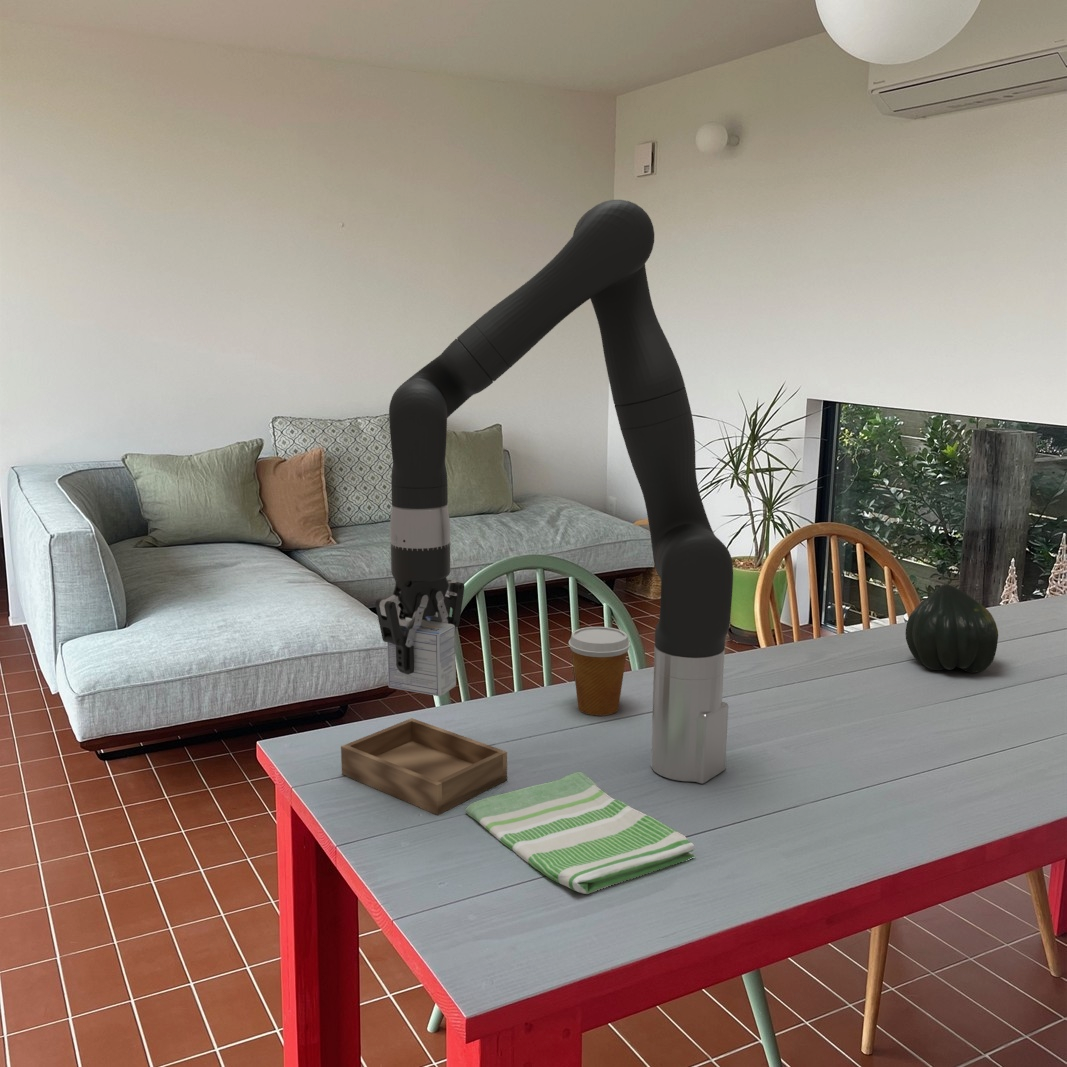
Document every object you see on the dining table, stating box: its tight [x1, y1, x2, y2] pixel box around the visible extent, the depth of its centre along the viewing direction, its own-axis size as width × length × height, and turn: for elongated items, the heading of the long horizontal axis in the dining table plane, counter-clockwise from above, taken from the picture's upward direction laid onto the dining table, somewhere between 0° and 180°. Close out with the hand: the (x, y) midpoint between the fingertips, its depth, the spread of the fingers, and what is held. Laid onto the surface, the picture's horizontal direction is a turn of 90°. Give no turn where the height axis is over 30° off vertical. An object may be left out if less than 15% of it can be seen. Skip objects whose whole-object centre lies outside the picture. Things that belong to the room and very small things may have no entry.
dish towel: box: [464, 771, 696, 895], centre depth 125 cm, size 18×23×3 cm
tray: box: [340, 717, 508, 816], centre depth 140 cm, size 18×13×4 cm
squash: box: [905, 583, 999, 674], centre depth 184 cm, size 14×15×15 cm
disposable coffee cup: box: [568, 626, 631, 716], centre depth 163 cm, size 10×10×12 cm
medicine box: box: [386, 617, 457, 697], centre depth 137 cm, size 8×4×9 cm, turn 65°
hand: (422, 666), depth 137 cm, fingers closed on medicine box, 5 cm apart
